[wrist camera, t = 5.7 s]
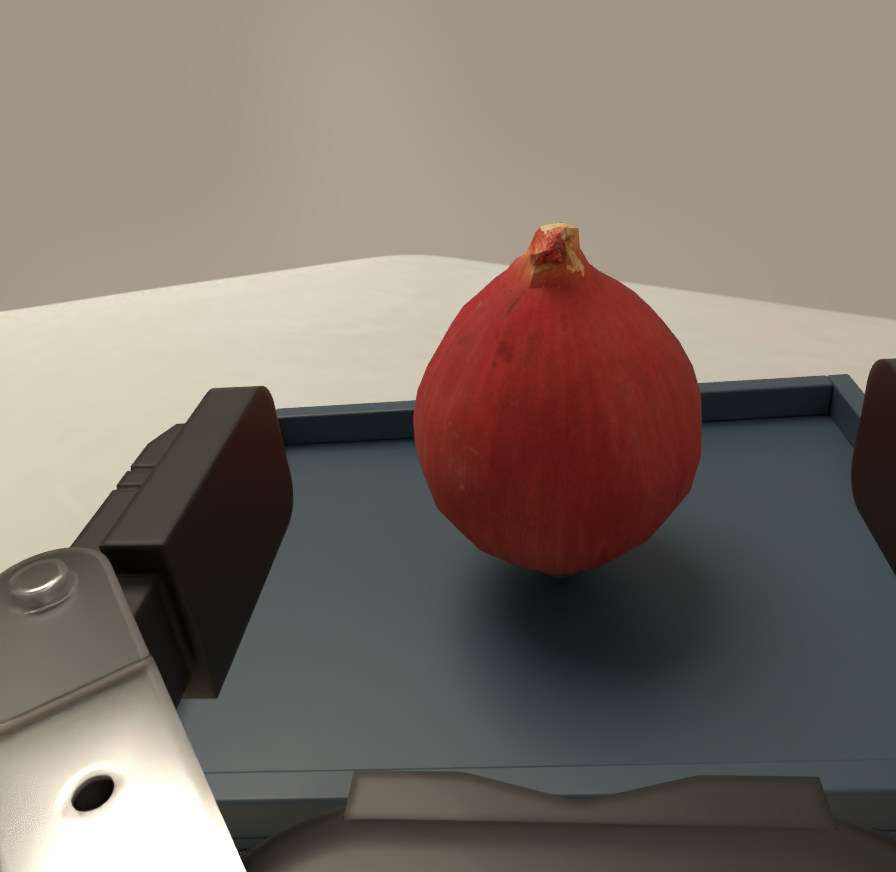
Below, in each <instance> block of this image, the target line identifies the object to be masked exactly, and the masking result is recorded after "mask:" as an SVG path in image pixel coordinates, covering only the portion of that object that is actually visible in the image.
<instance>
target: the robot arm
mask: <svg viewBox="0 0 896 872" xmlns="http://www.w3.org/2000/svg"><path fill="white" fill-rule="evenodd" d="M851 486H852V493H853V498H854V501H855V504H856V507H857V509H858V511H859V513H860V515H861V517H862V518H863V520H864V522H865V524H866V525H867V527H868V529H869V531H870V532H871V534H872V536H873V537H874V539H875V541H876V543H877V544H878V546H879V548H880V550H881V551H882V553H883V555H884V557H885V558H886V560H887V562H888V564H889V565H890V567H891V569H892V571H893V572H894V574H895V576H896V359H880V360H878V361H876V362H875V363H874V365H873V366H872V368H871V370H870V373H869V376H868V381H867V386H866V391H865V396H864V401H863V406H862V412H861V417H860V422H859V427H858V432H857V438H856V443H855V448H854V453H853V459H852V465H851ZM292 511H293V484H292V478H291V473H290V469H289V465H288V460H287V456H286V452H285V447H284V443H283V439H282V435H281V430H280V426H279V422H278V418H277V413H276V409H275V405H274V401H273V398H272V395H271V393H270V391H269V390H268V389H267V388H266V387H264V386H252V387H230V388H212V389H210V390H209V391H208V392H207V394H206V395H205V396H204V398H203V399H202V401H201V402H200V404H199V405H198V406H197V408H196V409H195V411H194V412H193V413H192V415H191V416H190V418H189V419H188V420H187V422H186V423H185V424H176V425H174V426H173V427H171V428H170V429H169V430H167V431H166V432H164V433H163V434H161V435H160V436H158V437H157V438H156V439H154V440H153V441H151V442H150V443H148V444H147V446H146V447H145V448H144V450H143V451H142V452H141V454H140V455H139V456H138V458H137V459H136V460H135V462H134V463H133V464H132V466H131V471H127V472H126V473H125V475H124V476H123V477H122V479H121V480H120V481H119V483H118V484H117V490H113V491H112V492H111V493H110V495H109V496H108V497H107V499H106V500H105V501H104V503H103V504H102V505H101V507H100V508H99V509H98V511H97V512H96V513H95V515H94V516H93V517H92V519H91V520H90V521H89V523H88V524H87V525H86V526H85V528H84V529H83V530H82V532H81V533H80V534H79V536H78V537H77V538H76V540H75V541H74V542H73V544H72V545H71V546H70V548H62V549H56V550H52V551H48V552H44V553H41V554H38V555H35V556H32V557H30V558H28V559H25V560H23V561H21V562H19V563H17V564H15V565H14V566H12V567H10V568H8V569H7V570H5V571H4V572H2V573H1V574H0V872H896V839H895V838H893V837H891V836H889V835H886V834H884V833H882V832H880V831H877V830H874V829H871V828H868V827H865V826H862V825H860V824H857V823H854V822H851V821H848V820H844V819H840V818H836V817H833V816H832V813H831V810H830V807H829V804H828V801H827V798H826V795H825V792H824V789H823V787H822V784H821V781H820V778H819V777H808V776H738V775H696V776H692V777H687V778H683V779H678V780H674V781H669V782H665V783H660V784H656V785H652V786H647V787H643V788H638V789H634V790H629V791H625V792H620V793H616V794H611V795H607V796H602V797H598V798H593V799H587V800H575V799H569V798H564V797H560V796H556V795H553V794H549V793H545V792H541V791H537V790H533V789H529V788H525V787H521V786H517V785H513V784H509V783H505V782H501V781H497V780H493V779H490V778H486V777H482V776H478V775H474V774H470V773H466V772H458V771H388V770H354V772H353V776H352V781H351V786H350V790H349V795H348V800H347V805H346V807H342V808H338V809H334V810H330V811H328V812H325V813H322V814H319V815H316V816H313V817H310V818H308V819H305V820H303V821H301V822H299V823H297V824H294V825H292V826H290V827H288V828H286V829H284V830H282V831H280V832H278V833H277V834H275V835H273V836H272V837H270V838H268V839H267V840H265V841H263V842H262V843H260V844H258V845H257V846H255V847H254V848H253V849H251V850H250V851H249V852H247V853H246V854H245V855H243V856H242V857H241V858H240V856H239V854H238V852H237V849H236V847H235V845H234V842H233V840H232V838H231V836H230V833H229V831H228V829H227V826H226V824H225V822H224V819H223V817H222V815H221V813H220V810H219V808H218V806H217V803H216V801H215V799H214V796H213V794H212V792H211V790H210V787H209V785H208V783H207V780H206V778H205V776H204V773H203V771H202V769H201V767H200V764H199V762H198V760H197V757H196V755H195V753H194V751H193V748H192V746H191V744H190V741H189V739H188V737H187V734H186V732H185V730H184V728H183V725H182V723H181V721H180V718H179V716H178V714H177V711H176V710H177V707H178V705H179V703H180V701H181V699H218V696H219V694H220V691H221V689H222V686H223V684H224V681H225V679H226V677H227V674H228V672H229V669H230V667H231V664H232V662H233V660H234V657H235V655H236V652H237V650H238V647H239V645H240V643H241V640H242V638H243V635H244V633H245V630H246V628H247V625H248V623H249V621H250V618H251V616H252V613H253V611H254V608H255V606H256V604H257V601H258V599H259V596H260V594H261V591H262V589H263V586H264V584H265V582H266V579H267V577H268V574H269V572H270V569H271V567H272V565H273V562H274V560H275V557H276V555H277V552H278V550H279V548H280V545H281V543H282V540H283V538H284V535H285V533H286V530H287V528H288V526H289V523H290V520H291V516H292Z"/></svg>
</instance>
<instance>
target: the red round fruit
mask: <svg viewBox="0 0 896 872" xmlns="http://www.w3.org/2000/svg"><path fill="white" fill-rule="evenodd" d="M413 424H414V435H415V445H416V452H417V455H418V458H419V461H420V464H421V467H422V471H423V474H424V477H425V480H426V482H427V485H428V487H429V490H430V492H431V494H432V497H433V499H434V502H435V504H436V507H437V509H438V510H439V511H440V512H441V513H442V514H443V515H444V516H445V517H446V518H447V519H448V520H449V521H450V522H451V523H452V524H453V525H454V526H455V527H456V528H457V529H458V530H459V531H460V532H461V533H462V534H463V535H464V536H465V537H466V538H467V539H469V540H470V541H471V542H472V543H473V544H474V545H475V546H476V547H477V548H478V549H479V550H480V551H482V552H484V553H487V554H489V555H491V556H494V557H496V558H498V559H501V560H503V561H506V562H509V563H512V564H514V565H517V566H520V567H522V568H525V569H528V570H536V571H539V572H541V573H543V574H545V575H548V576H551V577H555V578H563V577H568V576H572V575H574V574H579V573H581V572H583V571H585V570H591V569H596V568H598V567H600V566H602V565H604V564H606V563H608V562H610V561H612V560H614V559H616V558H618V557H620V556H622V555H624V554H626V553H627V552H629V551H631V550H632V549H634V548H636V547H638V546H639V545H641V544H643V543H645V542H646V541H648V540H649V539H650V538H651V536H652V535H653V534H654V533H655V532H656V531H657V530H658V529H659V528H660V526H661V525H662V524H663V523H664V522H665V521H666V520H667V518H668V517H669V516H670V515H671V514H672V513H673V511H674V510H675V509H676V508H677V507H678V505H679V504H680V503H681V502H682V501H683V500H684V498H685V497H686V496H687V495H688V494H689V492H690V490H691V487H692V484H693V481H694V478H695V474H696V471H697V468H698V465H699V461H700V458H701V446H702V414H701V393H700V390H699V386H698V383H697V379H696V376H695V372H694V369H693V366H692V364H691V362H690V360H689V358H688V357H687V355H686V353H685V351H684V349H683V347H682V346H681V344H680V342H679V341H678V339H677V338H676V337H675V335H674V334H673V333H672V332H671V330H670V329H669V328H668V326H667V325H666V324H665V323H664V321H663V320H662V319H661V318H660V317H659V316H658V315H657V314H656V313H655V311H654V310H653V309H652V308H651V307H650V306H649V305H648V304H647V303H646V302H645V301H644V300H643V299H642V298H640V297H639V296H638V295H637V294H636V293H635V292H634V291H632V290H631V289H629V288H628V287H626V286H625V285H623V284H622V283H620V282H619V281H617V280H615V279H613V278H611V277H610V276H607V275H606V274H604V273H602V272H600V271H598V270H597V269H596V268H594V267H593V266H592V265H590V264H589V263H588V261H587V259H586V258H585V256H584V254H583V252H582V251H581V249H580V246H579V231H578V228H577V227H574V226H571V225H567V224H565V223H555V224H549V225H543V226H541V227H540V228H539V230H538V231H537V232H536V233H535V235H534V238H533V240H532V242H531V244H530V246H529V248H528V250H527V252H526V253H525V254H524V255H522V256H520V257H518V258H517V259H516V260H515V261H514V262H513V263H512V264H511V265H510V267H509V268H508V269H507V270H506V271H504V272H503V273H501V274H500V275H499V276H497V277H496V278H494V279H493V280H492V281H491V282H490V283H489V284H488V285H487V286H486V287H485V288H484V289H482V290H481V291H480V292H479V293H478V294H477V295H476V296H474V297H473V298H472V299H471V300H470V301H469V302H468V303H466V304H465V305H464V306H463V307H462V309H461V310H460V312H459V313H458V315H457V316H456V318H455V319H454V321H453V322H452V324H451V325H450V327H449V329H448V331H447V332H446V334H445V336H444V338H443V340H442V341H441V343H440V345H439V347H438V348H437V350H436V352H435V354H434V355H433V357H432V359H431V361H430V362H429V364H428V366H427V368H426V371H425V373H424V376H423V378H422V381H421V383H420V386H419V388H418V391H417V397H416V403H415V409H414V415H413Z"/></svg>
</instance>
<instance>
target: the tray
mask: <svg viewBox="0 0 896 872" xmlns="http://www.w3.org/2000/svg"><path fill="white" fill-rule="evenodd" d="M698 386H699V390H700V393H701V414H702V446H701V458H700V461H699V465H698V468H697V471H696V474H695V478H694V481H693V484H692V487H691V490H690V492H689V494H688V495H687V496H686V497H685V498H684V500H683V501H682V502H681V503H680V504H679V505H678V507H677V508H676V509H675V510H674V511H673V513H672V514H671V515H670V516H669V517H668V518H667V520H666V521H665V522H664V523H663V524H662V525H661V526H660V528H659V529H658V530H657V531H656V532H655V533H654V534H653V535H652V536H651V538H650V539H649V540H648V541H646V542H645V543H643V544H641V545H639V546H638V547H636V548H634V549H632V550H631V551H629V552H627V553H626V554H624V555H622V556H620V557H618V558H616V559H614V560H612V561H610V562H608V563H606V564H604V565H602V566H600V567H598V568H596V569H591V570H585V571H583V572H581V573H579V574H574V575H572V576H568V577H563V578H555V577H551V576H548V575H545V574H543V573H541V572H539V571H536V570H528V569H525V568H522V567H520V566H517V565H514V564H512V563H509V562H506V561H503V560H501V559H498V558H496V557H494V556H491V555H489V554H487V553H484V552H482V551H480V550H479V549H478V548H477V547H476V546H475V545H474V544H473V543H472V542H471V541H470V540H469V539H467V538H466V537H465V536H464V535H463V534H462V533H461V532H460V531H459V530H458V529H457V528H456V527H455V526H454V525H453V524H452V523H451V522H450V521H449V520H448V519H447V518H446V517H445V516H444V515H443V514H442V513H441V512H440V511H439V510H438V509H437V507H436V504H435V502H434V499H433V497H432V494H431V492H430V490H429V487H428V485H427V482H426V480H425V477H424V474H423V471H422V467H421V464H420V461H419V458H418V455H417V452H416V445H415V435H414V424H413V415H414V409H415V403H416V400H414V401H398V402H381V403H365V404H348V405H332V406H315V407H299V408H282V409H277V410H276V413H277V418H278V422H279V426H280V430H281V435H282V439H283V443H284V447H285V452H286V456H287V460H288V465H289V469H290V473H291V478H292V484H293V511H292V516H291V520H290V523H289V526H288V528H287V530H286V533H285V535H284V538H283V540H282V543H281V545H280V548H279V550H278V552H277V555H276V557H275V560H274V562H273V565H272V567H271V569H270V572H269V574H268V577H267V579H266V582H265V584H264V586H263V589H262V591H261V594H260V596H259V599H258V601H257V604H256V606H255V608H254V611H253V613H252V616H251V618H250V621H249V623H248V625H247V628H246V630H245V633H244V635H243V638H242V640H241V643H240V645H239V647H238V650H237V652H236V655H235V657H234V660H233V662H232V664H231V667H230V669H229V672H228V674H227V677H226V679H225V681H224V684H223V686H222V689H221V691H220V694H219V696H218V699H181V701H180V703H179V705H178V707H177V710H176V711H177V714H178V716H179V718H180V721H181V723H182V725H183V728H184V730H185V732H186V734H187V737H188V739H189V741H190V744H191V746H192V748H193V751H194V753H195V755H196V757H197V760H198V762H199V764H200V767H201V769H202V771H203V773H204V776H205V778H206V780H207V783H208V785H209V787H210V790H211V792H212V794H213V796H214V799H215V801H216V803H217V806H218V808H219V810H220V813H221V815H222V817H223V819H224V822H225V824H226V826H227V829H228V831H229V833H230V836H231V838H232V840H233V842H234V845H235V847H236V849H253V848H254V847H255V846H257V845H258V844H260V843H262V842H263V841H265V840H267V839H268V838H270V837H272V836H273V835H275V834H277V833H278V832H280V831H282V830H284V829H286V828H288V827H290V826H292V825H294V824H297V823H299V822H301V821H303V820H305V819H308V818H310V817H313V816H316V815H319V814H322V813H325V812H328V811H330V810H334V809H338V808H342V807H346V805H347V800H348V795H349V790H350V786H351V781H352V776H353V772H354V770H388V771H458V772H466V773H470V774H474V775H478V776H482V777H486V778H490V779H493V780H497V781H501V782H505V783H509V784H513V785H517V786H521V787H525V788H529V789H533V790H537V791H541V792H545V793H549V794H553V795H556V796H560V797H564V798H569V799H575V800H587V799H593V798H598V797H602V796H607V795H611V794H616V793H620V792H625V791H629V790H634V789H638V788H643V787H647V786H652V785H656V784H660V783H665V782H669V781H674V780H678V779H683V778H687V777H692V776H696V775H738V776H808V777H819V778H820V781H821V784H822V787H823V789H824V792H825V795H826V798H827V801H828V804H829V807H830V810H831V813H832V816H833V817H836V818H840V819H844V820H848V821H851V822H854V823H857V824H860V825H862V826H865V827H868V828H871V829H874V830H877V831H880V832H882V833H884V834H886V835H889V836H891V837H893V838H895V839H896V576H895V574H894V572H893V571H892V569H891V567H890V565H889V564H888V562H887V560H886V558H885V557H884V555H883V553H882V551H881V550H880V548H879V546H878V544H877V543H876V541H875V539H874V537H873V536H872V534H871V532H870V531H869V529H868V527H867V525H866V524H865V522H864V520H863V518H862V517H861V515H860V513H859V511H858V509H857V507H856V504H855V501H854V498H853V493H852V486H851V465H852V459H853V453H854V448H855V443H856V438H857V432H858V427H859V422H860V417H861V412H862V406H863V401H864V396H865V394H864V393H863V392H862V390H861V389H860V388H859V387H858V385H857V384H856V383H855V382H854V381H853V379H852V378H851V377H850V376H849V375H848V374H842V375H829V376H828V377H827V376H809V377H792V378H776V379H759V380H743V381H726V382H710V383H698Z"/></svg>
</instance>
